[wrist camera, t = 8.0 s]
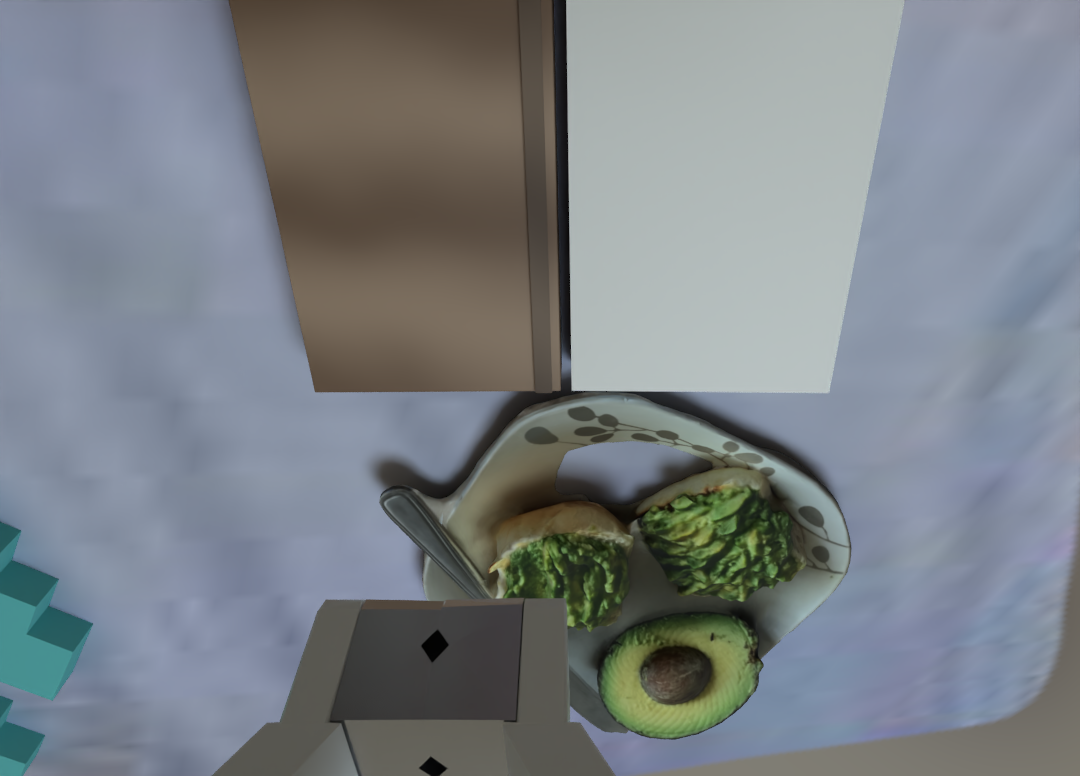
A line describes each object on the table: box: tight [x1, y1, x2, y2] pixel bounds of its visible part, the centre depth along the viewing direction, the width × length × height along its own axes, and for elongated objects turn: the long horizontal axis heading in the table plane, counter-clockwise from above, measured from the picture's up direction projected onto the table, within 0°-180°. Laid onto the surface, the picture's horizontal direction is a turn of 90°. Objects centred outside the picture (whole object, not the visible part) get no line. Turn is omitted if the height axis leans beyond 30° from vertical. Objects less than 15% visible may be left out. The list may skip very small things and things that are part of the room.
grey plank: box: [566, 0, 905, 393], centre depth 24 cm, size 14×9×2 cm, turn 2°
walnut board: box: [229, 0, 562, 393], centre depth 24 cm, size 14×9×2 cm, turn 2°
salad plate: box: [379, 392, 851, 739], centre depth 32 cm, size 19×18×5 cm
